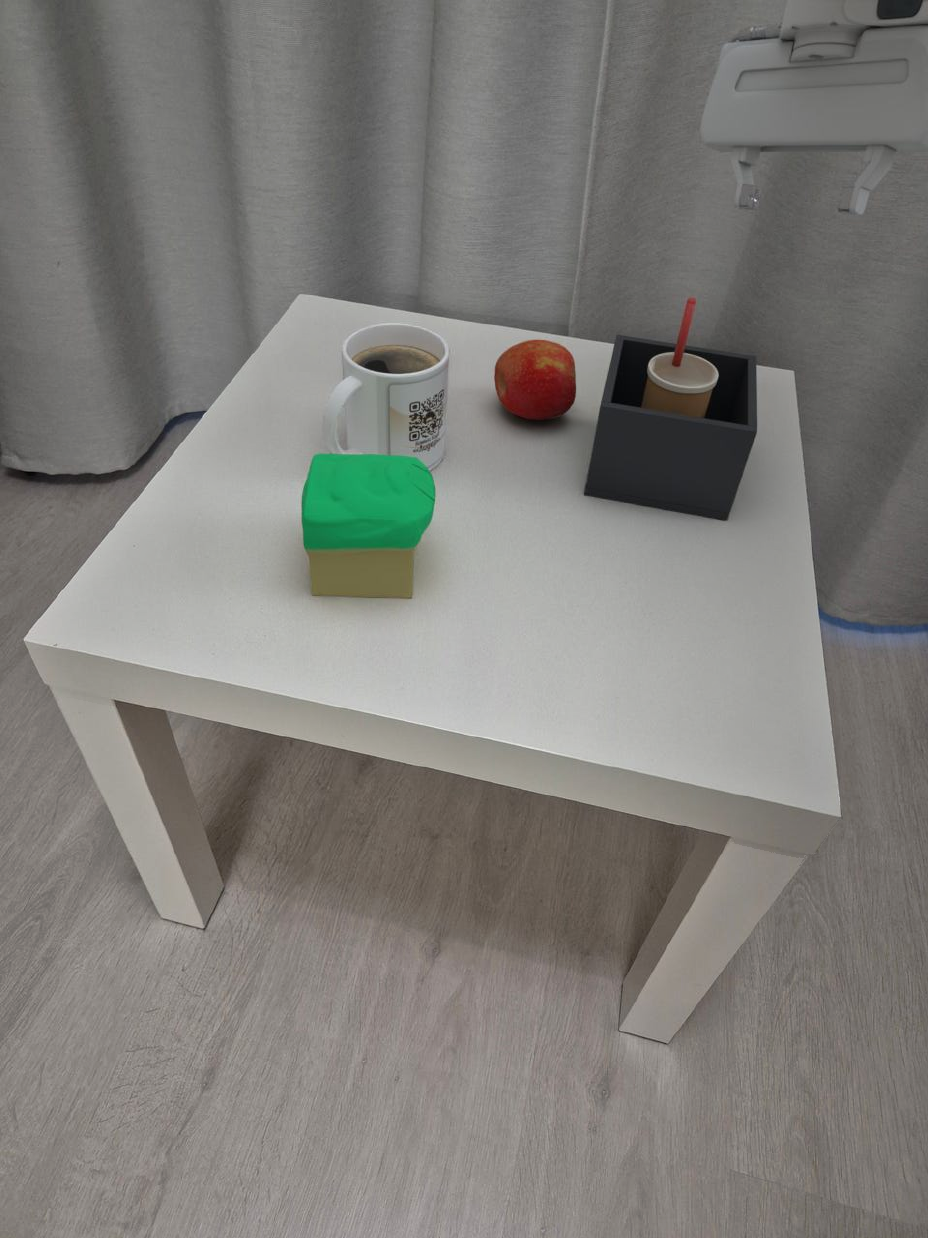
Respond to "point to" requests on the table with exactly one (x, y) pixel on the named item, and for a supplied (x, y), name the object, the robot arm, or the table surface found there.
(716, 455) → the bin
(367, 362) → the mug
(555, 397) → the apple
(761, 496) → the table surface
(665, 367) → the paper cup
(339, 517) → the cake
